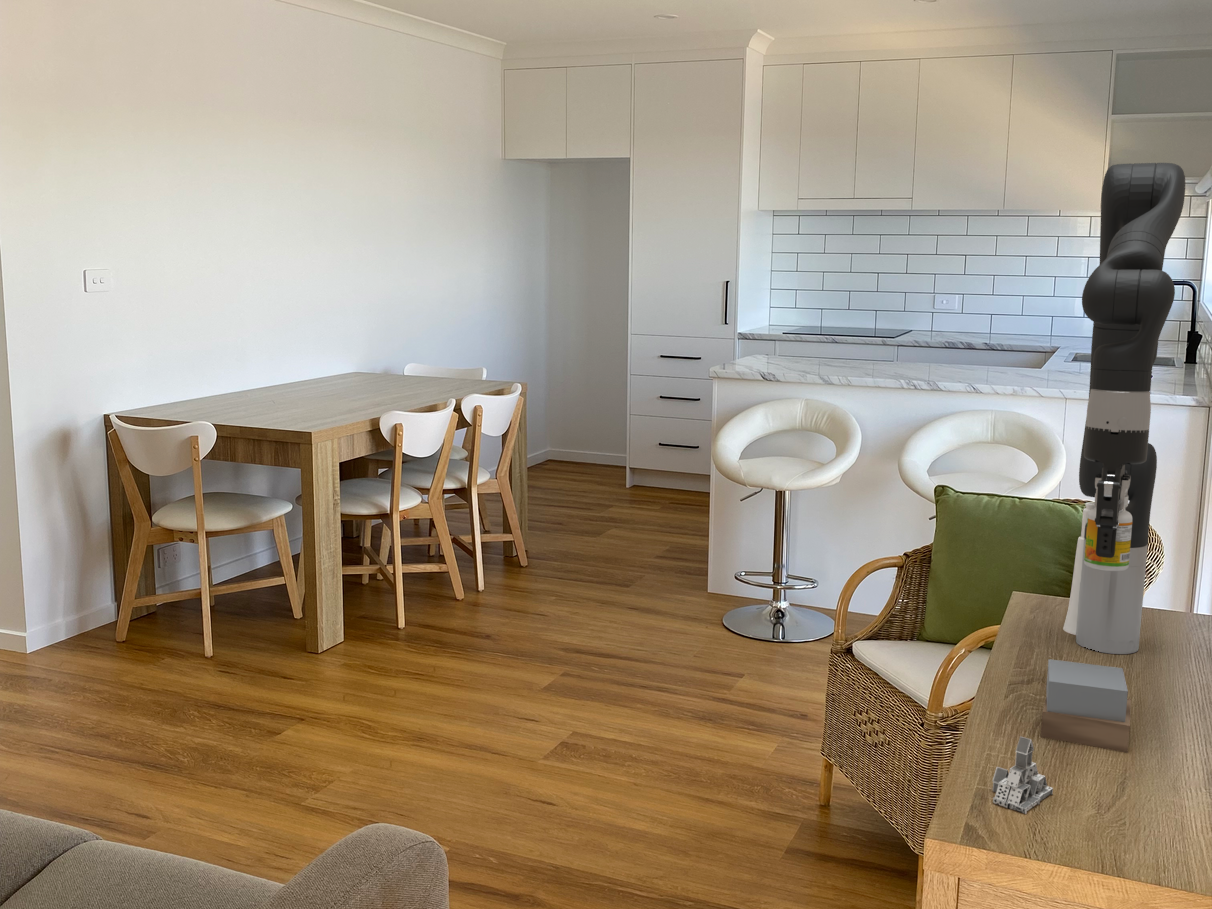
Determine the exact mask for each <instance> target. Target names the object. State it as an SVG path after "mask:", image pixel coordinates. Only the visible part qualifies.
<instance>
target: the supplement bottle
mask: <svg viewBox="0 0 1212 909" xmlns="http://www.w3.org/2000/svg"><path fill="white" fill-rule="evenodd" d="M1095 496H1096V494H1095ZM1119 502H1120V500H1119ZM1119 502H1118V503H1119ZM1128 504H1129V500H1128V495H1125V503H1124V511H1123V512H1122V513H1120V514H1119V519H1118V523H1119V527H1118V528H1117V532H1116V544H1115V554H1114V556H1113V557H1112V558H1107V557H1099V556H1097V555H1096V543H1097V530H1098V527H1097V525H1096V522H1095V518H1096V509H1095V508H1094V509H1092V510H1090V511H1089V513H1088V519H1087V532H1086V544H1085V556H1084V563H1085V565H1086V566H1088V567H1091V568H1094V569H1099V570H1106V571H1122V570H1126V569H1127V568H1128V566H1129V557H1130V544H1131V532H1132V515H1131V514H1130V513H1129V512H1128V511H1126V510H1125V508H1126V507H1127V506H1128ZM1102 516H1108V517H1113V512H1110V511H1104V512H1103V513H1102Z"/></svg>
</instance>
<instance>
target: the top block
mask: <svg viewBox="0 0 1212 909" xmlns="http://www.w3.org/2000/svg"><path fill="white" fill-rule="evenodd" d="M1047 660H1048V661H1047V662H1048V663H1047V676H1046V677H1047V678H1046V689H1045V690H1046V692H1045V693H1046V696H1047V711H1048V712H1055V713H1062V714H1069V715H1076V716H1084V717H1091V718H1098V719H1105V720H1113V721H1120V722H1125V718H1126V707H1127V699H1128V695H1129V693H1128V692H1129V691H1128V686H1127V683H1126V677H1125V673H1124V668H1123V667H1117V666H1107V665H1100V664H1092V663H1083V662H1075V661H1069V660H1068V661H1067V660H1060V659H1053V658H1052V659H1050V658H1048V659H1047Z"/></svg>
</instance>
